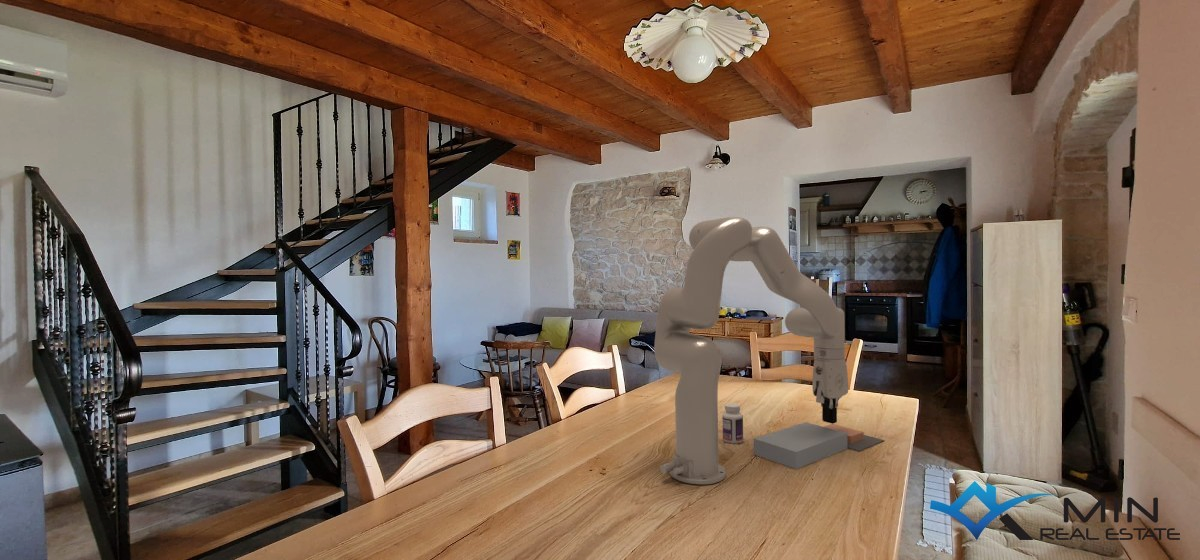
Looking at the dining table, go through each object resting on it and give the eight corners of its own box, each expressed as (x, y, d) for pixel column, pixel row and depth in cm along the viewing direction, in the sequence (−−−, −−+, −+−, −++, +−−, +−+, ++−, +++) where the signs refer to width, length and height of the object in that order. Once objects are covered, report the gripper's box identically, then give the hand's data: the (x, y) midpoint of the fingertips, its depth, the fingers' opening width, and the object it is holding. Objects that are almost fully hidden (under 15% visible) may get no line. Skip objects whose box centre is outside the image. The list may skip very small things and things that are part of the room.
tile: (863, 432, 137) (863, 439, 137) (832, 423, 145) (832, 430, 145) (850, 436, 134) (850, 443, 134) (819, 427, 142) (819, 434, 142)
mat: (859, 451, 129) (859, 450, 129) (808, 437, 141) (808, 436, 141) (884, 441, 137) (884, 440, 137) (834, 428, 148) (834, 427, 148)
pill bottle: (741, 437, 142) (740, 402, 141) (744, 444, 136) (744, 407, 136) (721, 437, 142) (720, 402, 142) (724, 443, 137) (723, 407, 137)
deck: (796, 469, 119) (796, 452, 119) (753, 454, 129) (753, 438, 129) (847, 448, 132) (847, 433, 131) (805, 436, 141) (805, 422, 141)
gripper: (826, 358, 130) (827, 431, 130) (857, 352, 138) (858, 420, 139) (799, 355, 136) (800, 424, 136) (831, 349, 144) (831, 413, 145)
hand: (829, 421), depth 138 cm, fingers closed
